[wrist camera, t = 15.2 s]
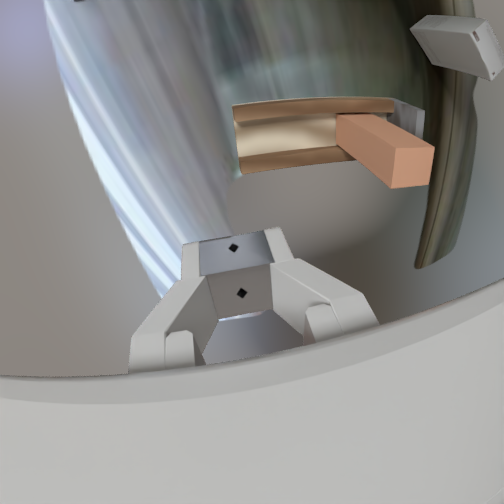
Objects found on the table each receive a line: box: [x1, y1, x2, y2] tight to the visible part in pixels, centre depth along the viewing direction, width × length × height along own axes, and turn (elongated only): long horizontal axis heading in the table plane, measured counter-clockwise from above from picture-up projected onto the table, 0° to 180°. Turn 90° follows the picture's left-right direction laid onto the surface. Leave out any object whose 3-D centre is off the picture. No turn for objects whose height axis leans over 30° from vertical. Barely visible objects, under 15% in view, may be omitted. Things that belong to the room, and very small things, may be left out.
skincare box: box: [410, 15, 504, 81], centre depth 27 cm, size 8×6×15 cm
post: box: [336, 113, 435, 189], centre depth 36 cm, size 5×6×16 cm
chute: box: [232, 97, 425, 174], centre depth 39 cm, size 10×26×9 cm, turn 96°
